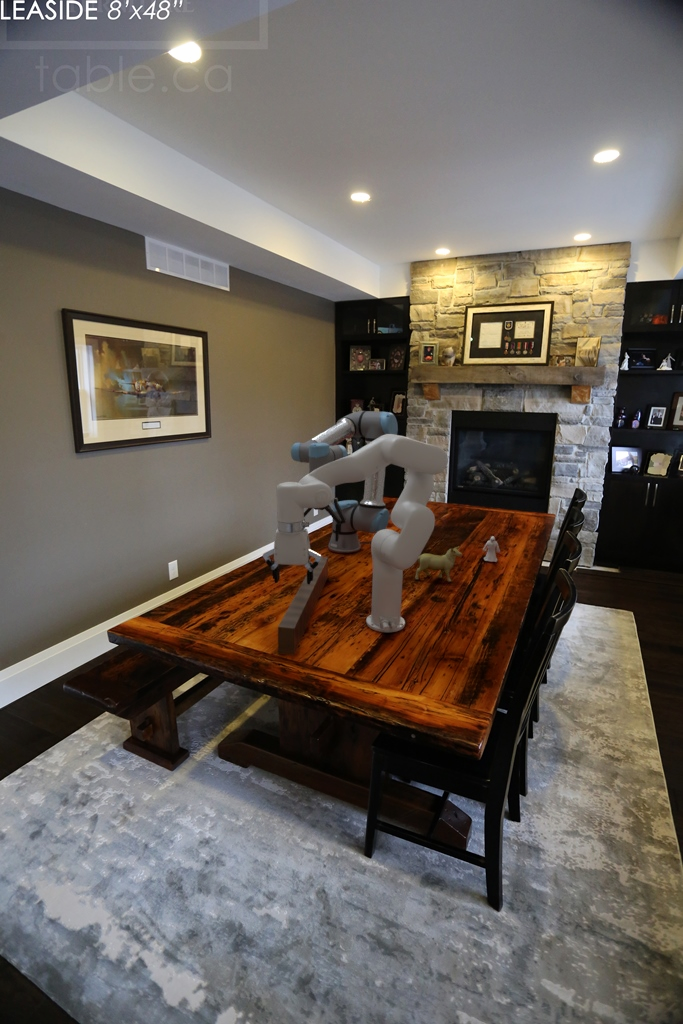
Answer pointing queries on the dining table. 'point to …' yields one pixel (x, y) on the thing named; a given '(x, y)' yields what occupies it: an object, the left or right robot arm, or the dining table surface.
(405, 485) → the right robot arm
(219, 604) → the dining table surface
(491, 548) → the figurine
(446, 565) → the toy
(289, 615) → the bar
